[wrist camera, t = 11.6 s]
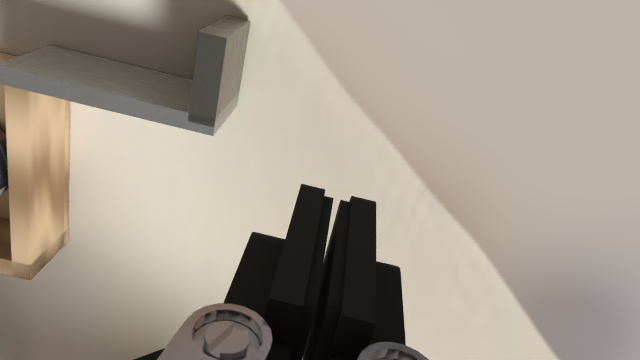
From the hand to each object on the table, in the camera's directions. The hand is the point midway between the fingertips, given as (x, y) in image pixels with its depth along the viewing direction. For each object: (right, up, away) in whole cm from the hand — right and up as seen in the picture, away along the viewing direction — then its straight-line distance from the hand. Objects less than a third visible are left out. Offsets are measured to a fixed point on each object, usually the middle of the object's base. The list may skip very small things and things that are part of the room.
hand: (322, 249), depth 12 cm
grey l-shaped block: (-9, +9, +15) cm, 19 cm away
